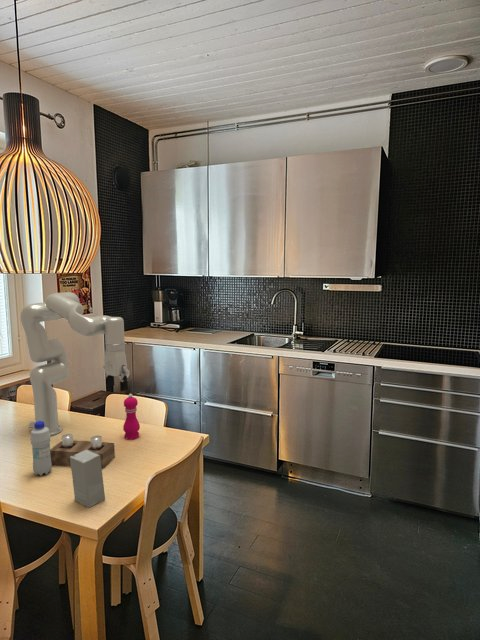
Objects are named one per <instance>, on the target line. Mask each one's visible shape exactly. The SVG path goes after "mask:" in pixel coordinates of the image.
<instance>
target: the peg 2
mask: <svg viewBox="0 0 480 640" xmlns="http://www.w3.org/2000/svg"><path fill="white" fill-rule="evenodd" d="M102 439H103V438H102V436H101V435H94V436H91V437H90V441H91V450H97V451H100V450H101V449H102V442H103V440H102Z"/></svg>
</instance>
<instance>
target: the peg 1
mask: <svg viewBox="0 0 480 640" xmlns="http://www.w3.org/2000/svg"><path fill="white" fill-rule="evenodd" d="M73 440H74V435H73V434H71V433H65V434H63V435H62V436H61V441H62V447H63V448H66V449H71V448H72V447H73Z"/></svg>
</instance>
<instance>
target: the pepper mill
mask: <svg viewBox="0 0 480 640" xmlns="http://www.w3.org/2000/svg"><path fill="white" fill-rule="evenodd" d="M123 406H124V407H125V408H124V410H125V411H124V412H125V413H126V414H125V416H126V418H125V421H124V423H123V428H122V430H123V432H124V439H126V440H130V441H131V440H137V439H138V438H139V437H140V433H139V431H140V428H141V424H140V423H139V420H138V418H137V414H136V413H137V406H138V400H137V398H136V397H134V396H133V394H132V393H129V394H128V397H126V398H125V399H124V401H123Z"/></svg>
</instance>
